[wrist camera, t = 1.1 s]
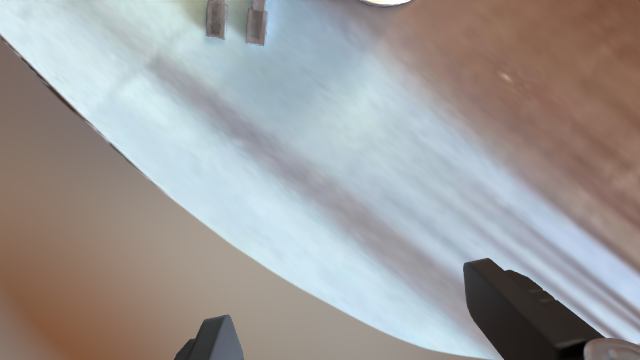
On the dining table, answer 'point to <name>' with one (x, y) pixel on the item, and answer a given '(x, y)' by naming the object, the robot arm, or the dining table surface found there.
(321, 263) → the dining table surface
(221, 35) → the fork
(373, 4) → the coffee tin
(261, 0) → the spoon
